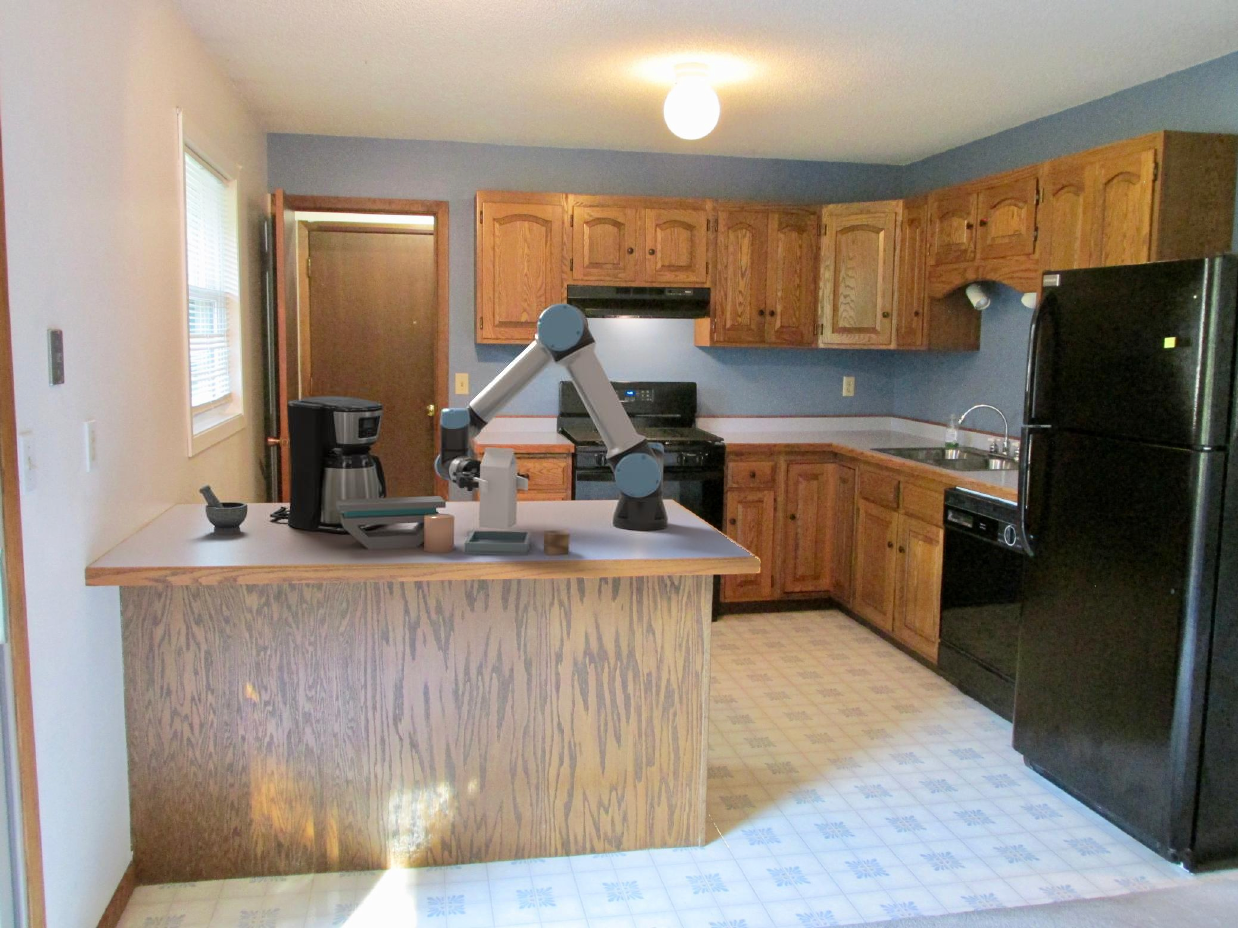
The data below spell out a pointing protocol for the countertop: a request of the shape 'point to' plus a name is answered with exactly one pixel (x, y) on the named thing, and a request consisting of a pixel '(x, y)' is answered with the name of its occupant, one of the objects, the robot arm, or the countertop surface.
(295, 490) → the coffee maker
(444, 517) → the peach round cylinder
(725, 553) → the countertop surface
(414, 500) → the sharpening stone
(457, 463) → the robot arm
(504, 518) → the milk carton
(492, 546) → the tray
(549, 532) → the walnut block
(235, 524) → the mortar and pestle
